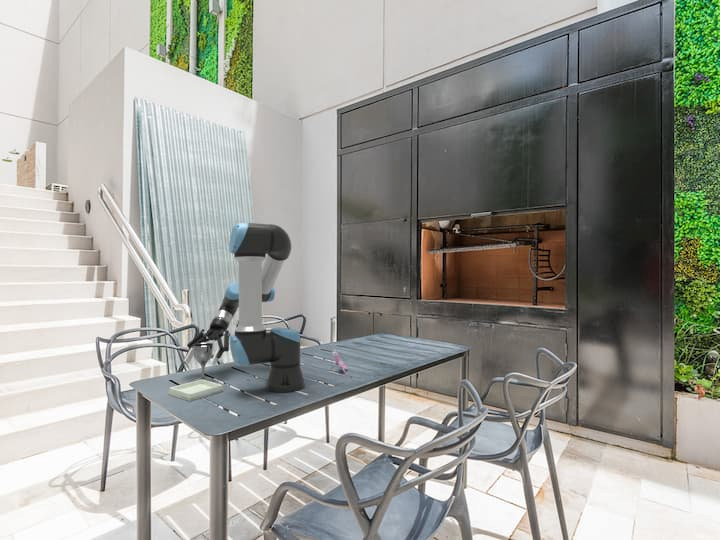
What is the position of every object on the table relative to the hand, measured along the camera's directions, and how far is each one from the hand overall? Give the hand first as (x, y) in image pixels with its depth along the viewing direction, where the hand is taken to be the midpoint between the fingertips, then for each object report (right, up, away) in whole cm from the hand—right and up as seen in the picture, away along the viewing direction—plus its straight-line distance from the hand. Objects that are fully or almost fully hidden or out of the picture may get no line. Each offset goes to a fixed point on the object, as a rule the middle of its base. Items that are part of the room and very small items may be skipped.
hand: (199, 363), depth 163 cm
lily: (+58, -8, +16) cm, 60 cm away
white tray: (+5, -7, -15) cm, 18 cm away
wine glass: (+1, -8, +2) cm, 8 cm away
